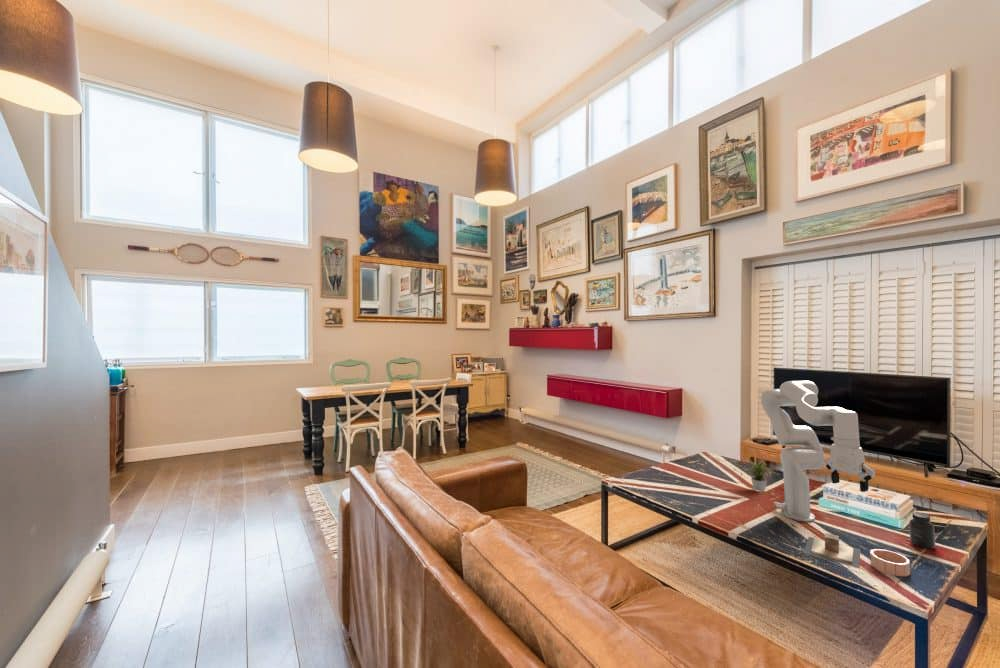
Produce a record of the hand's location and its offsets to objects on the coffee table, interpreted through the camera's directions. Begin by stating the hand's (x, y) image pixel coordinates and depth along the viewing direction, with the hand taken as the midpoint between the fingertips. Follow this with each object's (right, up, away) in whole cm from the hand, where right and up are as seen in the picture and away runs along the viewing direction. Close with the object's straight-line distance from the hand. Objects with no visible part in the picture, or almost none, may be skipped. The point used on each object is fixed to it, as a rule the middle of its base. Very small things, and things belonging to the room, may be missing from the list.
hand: (849, 486), depth 153 cm
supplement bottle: (+33, -25, +4) cm, 41 cm away
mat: (-6, -26, +1) cm, 27 cm away
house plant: (+7, -26, +64) cm, 70 cm away
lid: (-6, -25, +1) cm, 26 cm away
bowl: (+5, -26, -11) cm, 28 cm away
